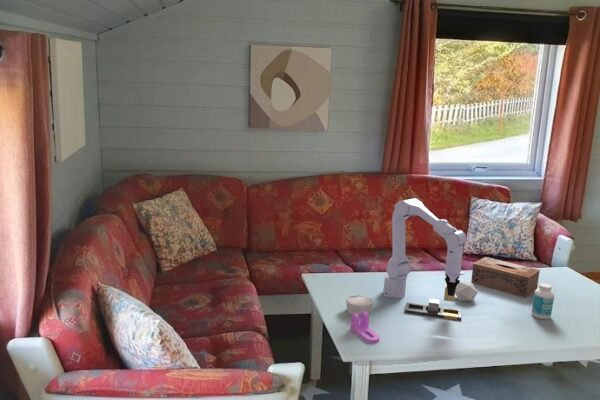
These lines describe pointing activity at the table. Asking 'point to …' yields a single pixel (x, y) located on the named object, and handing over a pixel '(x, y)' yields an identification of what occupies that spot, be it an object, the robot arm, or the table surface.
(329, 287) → the table surface
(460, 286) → the die
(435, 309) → the matte gray cube
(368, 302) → the ramekin
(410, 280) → the table surface
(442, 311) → the rail
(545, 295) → the pill bottle
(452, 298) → the light wood cube
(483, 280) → the tissue box cover
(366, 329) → the bracket
